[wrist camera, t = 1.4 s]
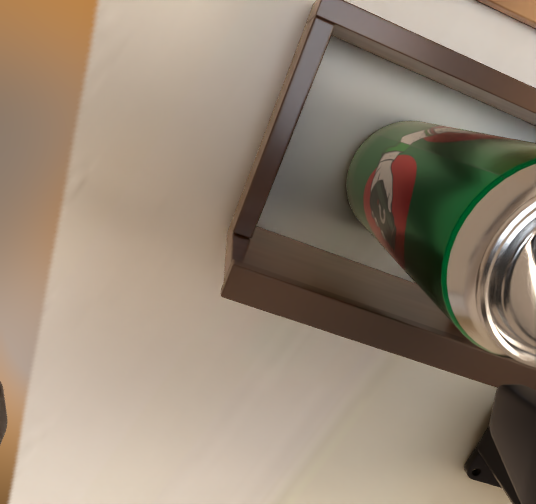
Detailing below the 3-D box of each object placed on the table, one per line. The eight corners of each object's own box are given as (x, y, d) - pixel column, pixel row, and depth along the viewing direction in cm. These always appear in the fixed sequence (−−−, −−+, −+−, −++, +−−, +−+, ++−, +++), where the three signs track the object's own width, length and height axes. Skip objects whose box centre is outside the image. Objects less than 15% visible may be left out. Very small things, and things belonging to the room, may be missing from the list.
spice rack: (579, 122, 21) (721, 137, 15) (467, 322, 24) (547, 405, 18) (313, 3, 19) (350, -39, 13) (225, 237, 22) (220, 297, 16)
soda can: (381, 255, 23) (526, 424, 11) (321, 166, 21) (418, 259, 10) (476, 191, 22) (734, 302, 11) (421, 94, 20) (650, 104, 9)
